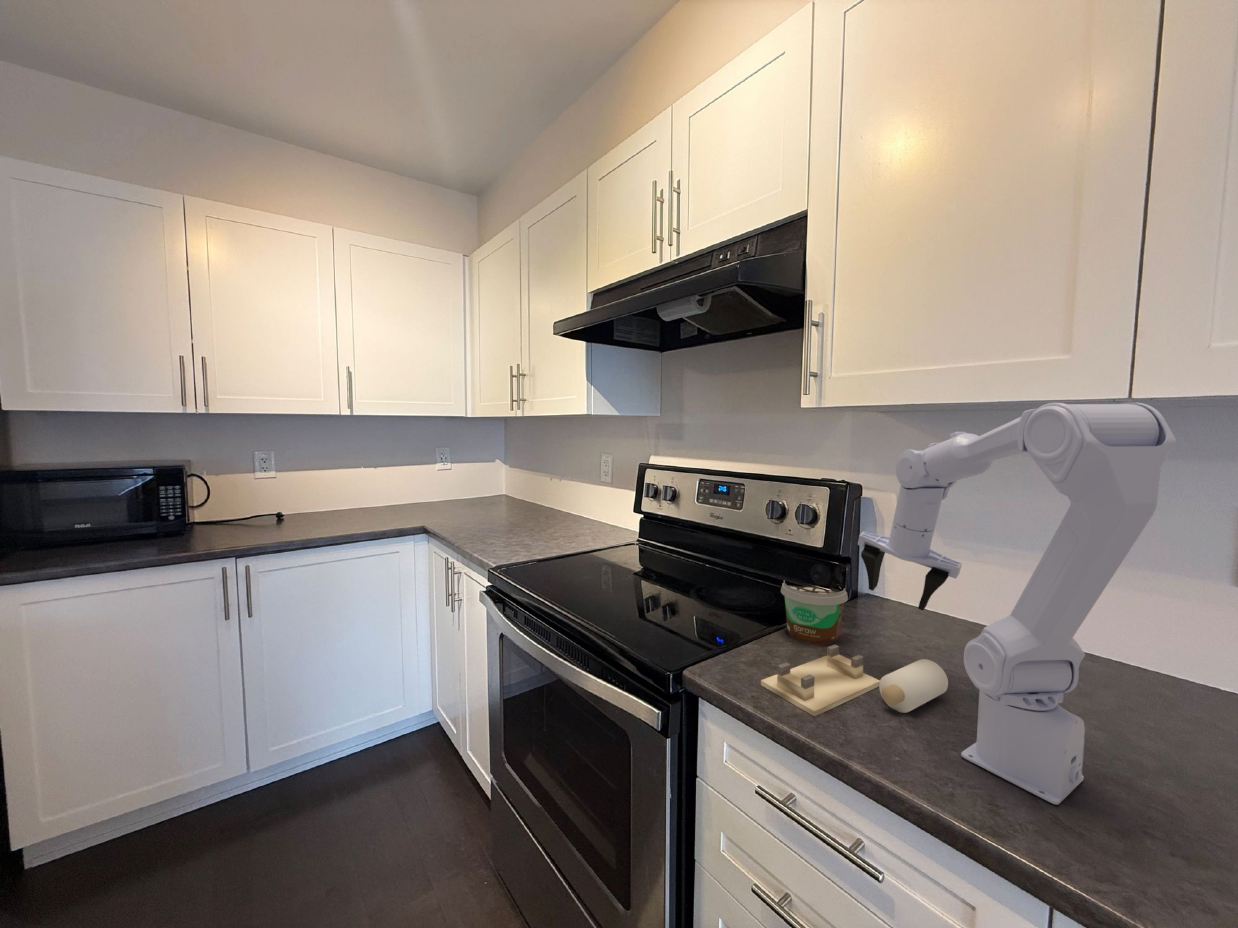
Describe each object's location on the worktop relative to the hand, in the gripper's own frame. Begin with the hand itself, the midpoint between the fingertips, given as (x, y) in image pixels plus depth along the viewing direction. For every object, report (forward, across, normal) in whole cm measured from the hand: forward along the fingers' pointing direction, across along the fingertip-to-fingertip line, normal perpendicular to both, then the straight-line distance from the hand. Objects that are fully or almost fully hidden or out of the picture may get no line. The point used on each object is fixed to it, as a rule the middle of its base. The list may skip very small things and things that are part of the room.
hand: (896, 597), depth 83 cm
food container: (+16, +12, +1) cm, 20 cm away
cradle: (+11, +4, +16) cm, 20 cm away
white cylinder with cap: (+10, -7, +10) cm, 16 cm away
